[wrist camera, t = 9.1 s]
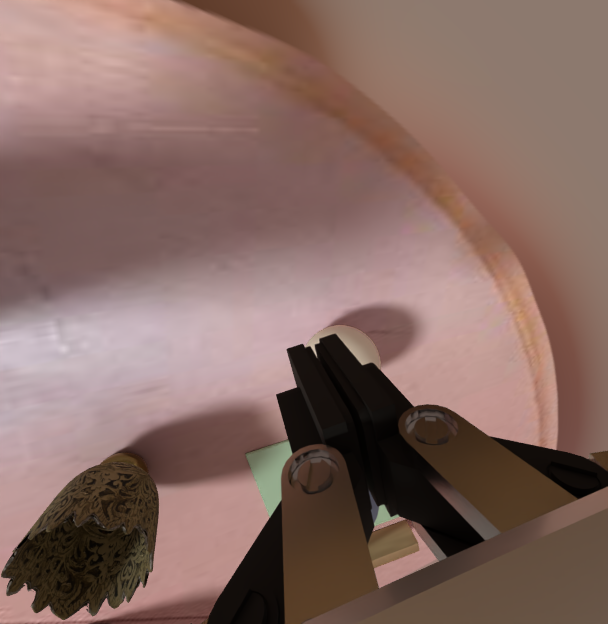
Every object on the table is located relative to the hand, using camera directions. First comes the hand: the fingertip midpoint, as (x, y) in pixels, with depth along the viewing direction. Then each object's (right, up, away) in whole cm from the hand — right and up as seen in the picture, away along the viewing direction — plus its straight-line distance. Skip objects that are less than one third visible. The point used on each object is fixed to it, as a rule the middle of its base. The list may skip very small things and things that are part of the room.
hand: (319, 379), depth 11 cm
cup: (-15, -10, +15) cm, 23 cm away
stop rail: (+5, -22, +23) cm, 32 cm away
